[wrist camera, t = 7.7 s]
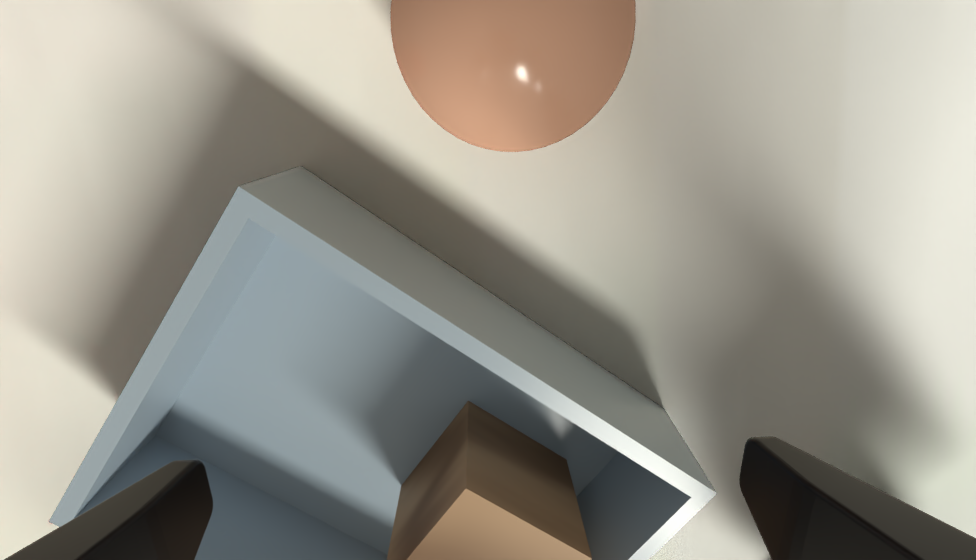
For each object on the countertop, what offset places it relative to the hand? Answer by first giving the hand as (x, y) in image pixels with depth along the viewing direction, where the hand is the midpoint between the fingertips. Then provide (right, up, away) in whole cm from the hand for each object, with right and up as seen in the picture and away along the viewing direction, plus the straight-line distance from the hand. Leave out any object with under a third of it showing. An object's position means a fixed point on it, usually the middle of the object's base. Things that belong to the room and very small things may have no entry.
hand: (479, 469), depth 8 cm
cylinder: (0, +11, +9) cm, 14 cm away
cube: (0, -5, +13) cm, 14 cm away
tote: (-3, -3, +13) cm, 14 cm away
